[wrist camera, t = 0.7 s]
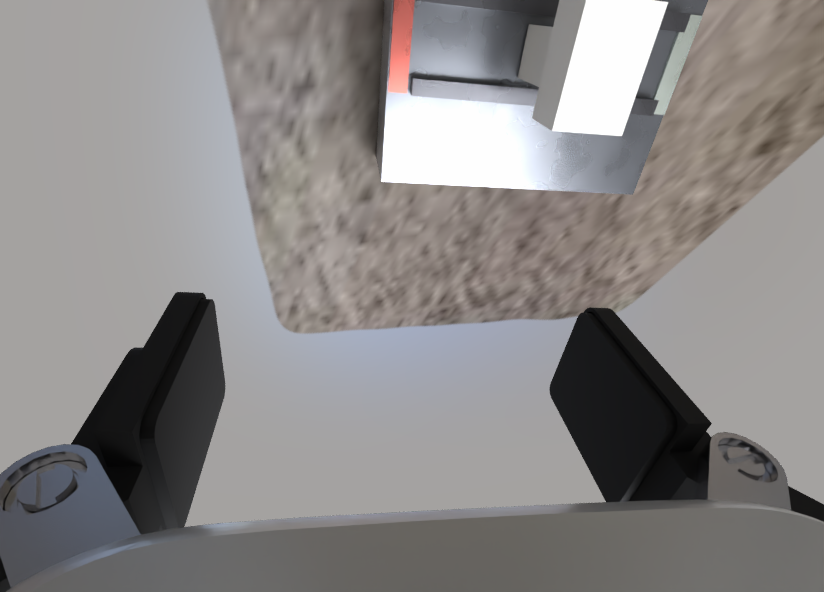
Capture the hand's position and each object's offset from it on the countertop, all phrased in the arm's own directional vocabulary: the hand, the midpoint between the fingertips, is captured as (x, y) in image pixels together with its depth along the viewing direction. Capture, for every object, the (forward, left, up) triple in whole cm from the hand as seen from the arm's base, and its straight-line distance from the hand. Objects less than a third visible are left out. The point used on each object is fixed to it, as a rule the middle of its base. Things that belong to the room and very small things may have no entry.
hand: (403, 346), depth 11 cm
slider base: (-6, +11, -28) cm, 31 cm away
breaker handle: (-6, +11, -22) cm, 25 cm away
